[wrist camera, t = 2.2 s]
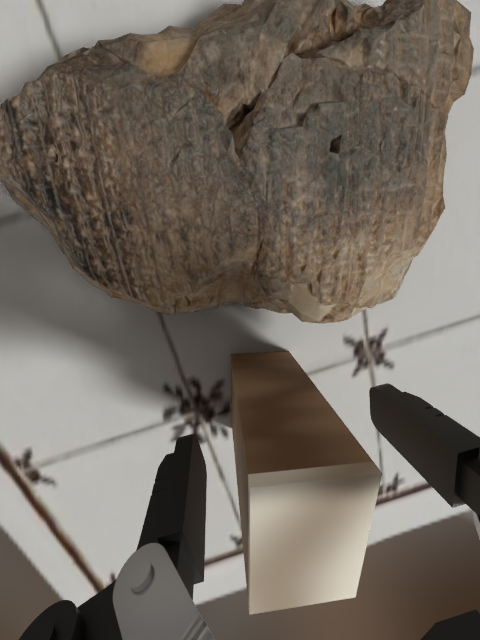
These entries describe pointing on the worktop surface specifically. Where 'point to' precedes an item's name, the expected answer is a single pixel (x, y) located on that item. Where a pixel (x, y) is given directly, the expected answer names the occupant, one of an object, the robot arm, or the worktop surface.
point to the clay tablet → (247, 154)
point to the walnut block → (297, 486)
